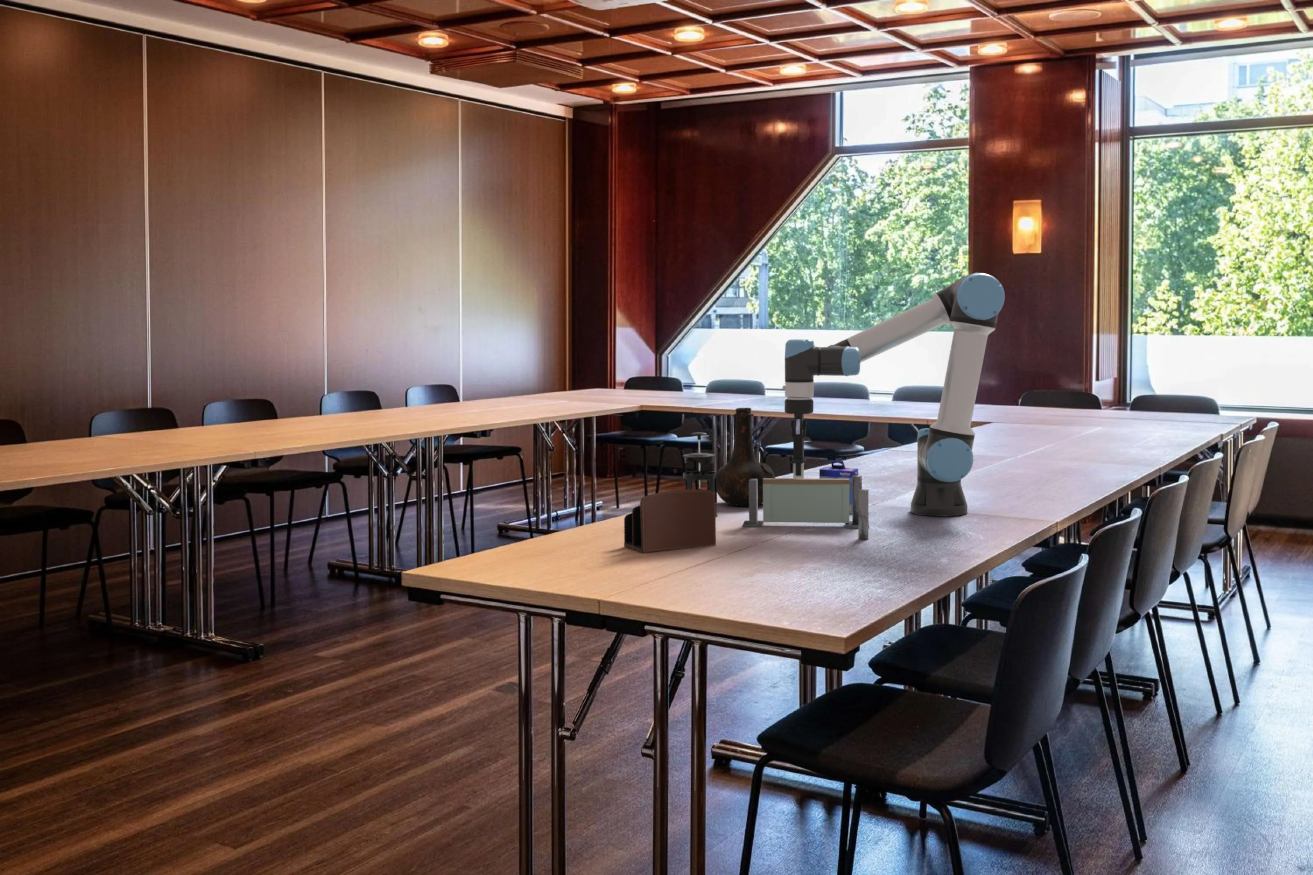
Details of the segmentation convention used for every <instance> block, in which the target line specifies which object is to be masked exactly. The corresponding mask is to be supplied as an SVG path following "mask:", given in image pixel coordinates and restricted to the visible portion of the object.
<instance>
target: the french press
mask: <svg viewBox="0 0 1313 875" xmlns="http://www.w3.org/2000/svg"><path fill="white" fill-rule="evenodd" d="M691 435H693V436H696V437H697V441H698V452H692V453H687V454H683V455H682V457H683V458H684V463H685V464H686V463H690V462H691V463H692V462H697V463H698V470H691V471H685V472H683V473H682V477H683V479H684V480H685V481H684V483H685V488H684V490H693V481H696V480H697V481H698V483H699V486H698V489H697V490H702V488H701V487H702V486H701V481H702V480H704V481H705V480H706V484H707V485H706V488H707V489H706V490H709V491H712V492H713V493H714V494H715V510H716V518H717V517H718V512H717V511H718V510H717V503H718V493H717V472H718V471H715V470H714V471H713V470H712V471H711V470H701V465H713V464H715V458H716V456H717V455H716V454H715V453H709V452H701V440H702V436H704V435H708V434H707V433H706V432H701V431H700V432H692V433H691Z"/></svg>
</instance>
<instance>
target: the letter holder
mask: <svg viewBox="0 0 1313 875" xmlns="http://www.w3.org/2000/svg"><path fill="white" fill-rule="evenodd" d="M716 518H717V517H716V510H715V494H714V493H713V492H712V491H709V490H707V489H701V490H698V489H692V490H686V489H676V490H666V491H662V492H657V493H652V494H649V495H645V496H643V497H641V498H640V502H639V505H637V506H635V507H633V509H632V511H631V513H629V514H626V515H625V516H624V518H623V520H624V521H623V524H624V525H623V529H624V530H623V533H624V534H623V536H624V537H623V539H624V540H623V541H624V542H623V547H624V548H626V549H629V550H632V551H635V552H637V553H640V554H650V553H659V552H668V551H675V550H685V549H695V548H702V547H703V548H704V547H712V546H717V535H716V534H717V533H716V532H717V527H716V526H717V523H716Z"/></svg>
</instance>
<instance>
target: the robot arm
mask: <svg viewBox="0 0 1313 875" xmlns="http://www.w3.org/2000/svg"><path fill="white" fill-rule="evenodd" d="M1005 295H1006V294H1005V290H1004V287H1003V285H1002V283H1001V282H1000V281H999V280H998V279H997V278H995V276H993V275H990V273H989V274H988V273H984V272H974V273H972V274H967V275H964V276H962V277H960V278H959V279H957V280H955V281H954V282H952V283H951V284H950V285H948V286H946V287H945V288H943V289H940V290H939V291H937V292H934V293H933V295H932V297H931V299H929V300H926V301H924V302H922V303H920V304H918V305H915V306H914V307H912V308H909V309H907V310H905V311H903V312H901V313H898V314H896V315H894V316H893V317H890V318H888V319H886V320H884V321H881V322H879V323H877V324H875V325H873V326H871V327H868V328H866V329H865V330H862V331H860V332H858V333H856V334H854V335H852V336H849V337H848V338H845V339H843V340H841V341H839V342H837V343H835V344H830V345H828V346H815V342H814V340H813V339H799V338H797V339H796V338H795V339H788V340H787V341H786V342H785V345H784V347H785V348H784V385H782V387H781V388H782V389H783V390H784V397H786V398H785V400H784V413H785V414H789V415H793V419H792V420H791V421H790V427H791V437H792V442H793V443H792V444H793V445H792V446H793V449H792V450H793V451H792V452H793V458H792V460H790V464H792V465H793V468H792V472H793V473H792V475H793V478H805V472H804V471H805V468H804V467H805V463H807V459H805V437H806V430H807V429H806V428H807V424H808V423H807V421H808V420H807V419H804V418H805V416H804V415H810V414H813V413H814V400H813V397H814V394H815V391H814V390H815V386H814V385H815V382H814V378H815V377H814V376H818V377H820V376H829V377H830V376H832V377H833V376H838V377H841V376H844V377H848V376H849V377H850V376H857V375H859V374H860V370H861V363H863V362H865V361H867V360H870V359H871V358H873V357H876V356H878V355H880V354H883V353H885V352H887V351H889V350H891V349H893V348H896V347H898V346H900V345H902V344H904V343H906V342H909V341H910V340H913V339H915V338H917V337H919V336H921V335H924V334H926V333H928V332H930V331H932V330H935V329H937V328H939V327H941V326H943V325H945V326H948V327H950V326H952V328H953V335H952V341H951V346H950V350H949V356H948V361H947V366H946V373H945V376H944V383H943V386H942V392H941V398H940V404H939V407H938V408H939V409H938V414H937V420H936V421H935V422H933V423H931V425H929V428H927V427H926V428H921V429H918V431H917V438H916V443H917V446H916V447H917V451H916V452H917V454H916V455H917V456H916V457H917V459H916V462H917V466H916V470H917V471H916V472H917V474H916V477H917V478H916V486H915V490H914V493H913V496H912V498H911V502H910V512H911V513H912V514H915V515H922V516H929V517H953V516H954V517H955V516H962V515H966V514H968V503H967V499H966V495H965V493H964V490H963V486H962V479H964V478H965V477H967V475H968V474H970V472H971V469H972V468H973V465H974V455H973V454H974V453H973V448H974V447H973V446H974V442H975V437H976V436H975V435H976V433H975V431H974V430H973V429H972V426H971V425H972V421H973V415H974V409H975V406H976V404H975V403H976V399H977V393H978V389H979V383H980V378H981V374H982V373H981V372H982V368H983V363H984V357H985V351H986V347H987V341H988V337H989V335H990V334H992V333H993V332H994V331H995V330H996V328H997V322H998V317H999V314H1000V312H1001V310H1002V309H1003V306H1004V303H1005V298H1006V296H1005Z"/></svg>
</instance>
